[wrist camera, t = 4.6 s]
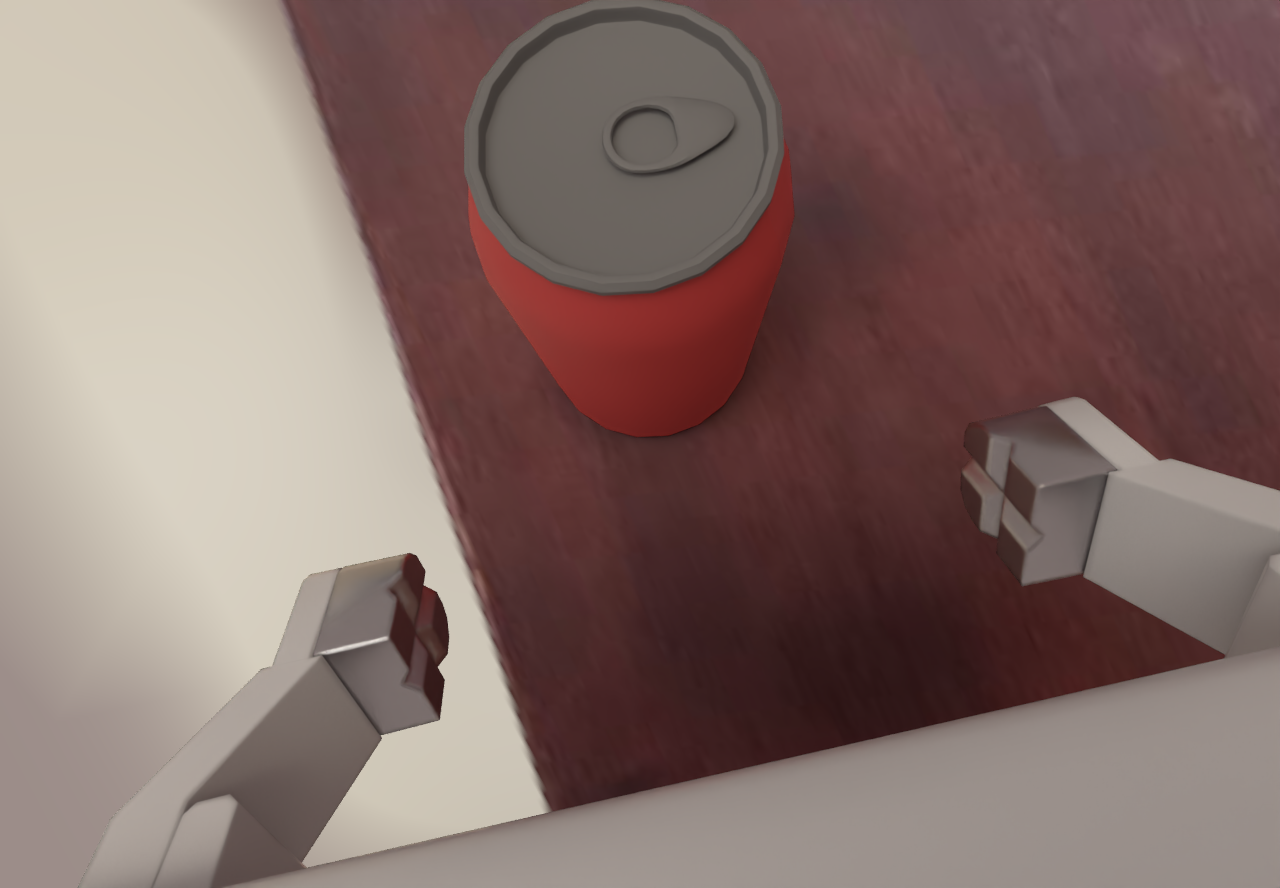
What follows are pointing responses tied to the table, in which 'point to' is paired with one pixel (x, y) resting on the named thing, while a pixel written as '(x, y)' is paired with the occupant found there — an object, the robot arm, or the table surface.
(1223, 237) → the table surface
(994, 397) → the table surface
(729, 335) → the beer can
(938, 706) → the table surface
